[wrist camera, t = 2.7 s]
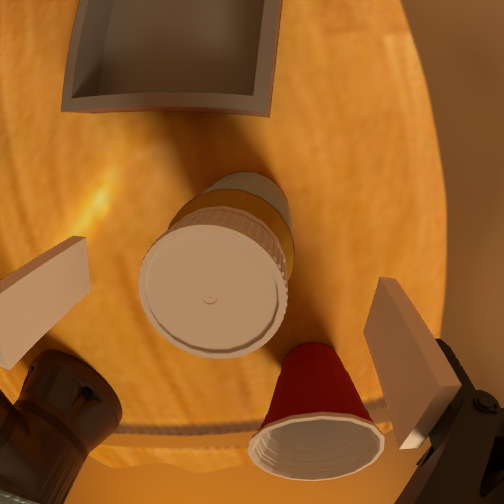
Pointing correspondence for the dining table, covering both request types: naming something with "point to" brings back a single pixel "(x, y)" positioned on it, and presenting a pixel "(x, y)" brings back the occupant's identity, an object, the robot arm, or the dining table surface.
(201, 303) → the bottle
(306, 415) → the plastic cup
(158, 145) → the dining table surface
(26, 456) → the robot arm
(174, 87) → the crate
